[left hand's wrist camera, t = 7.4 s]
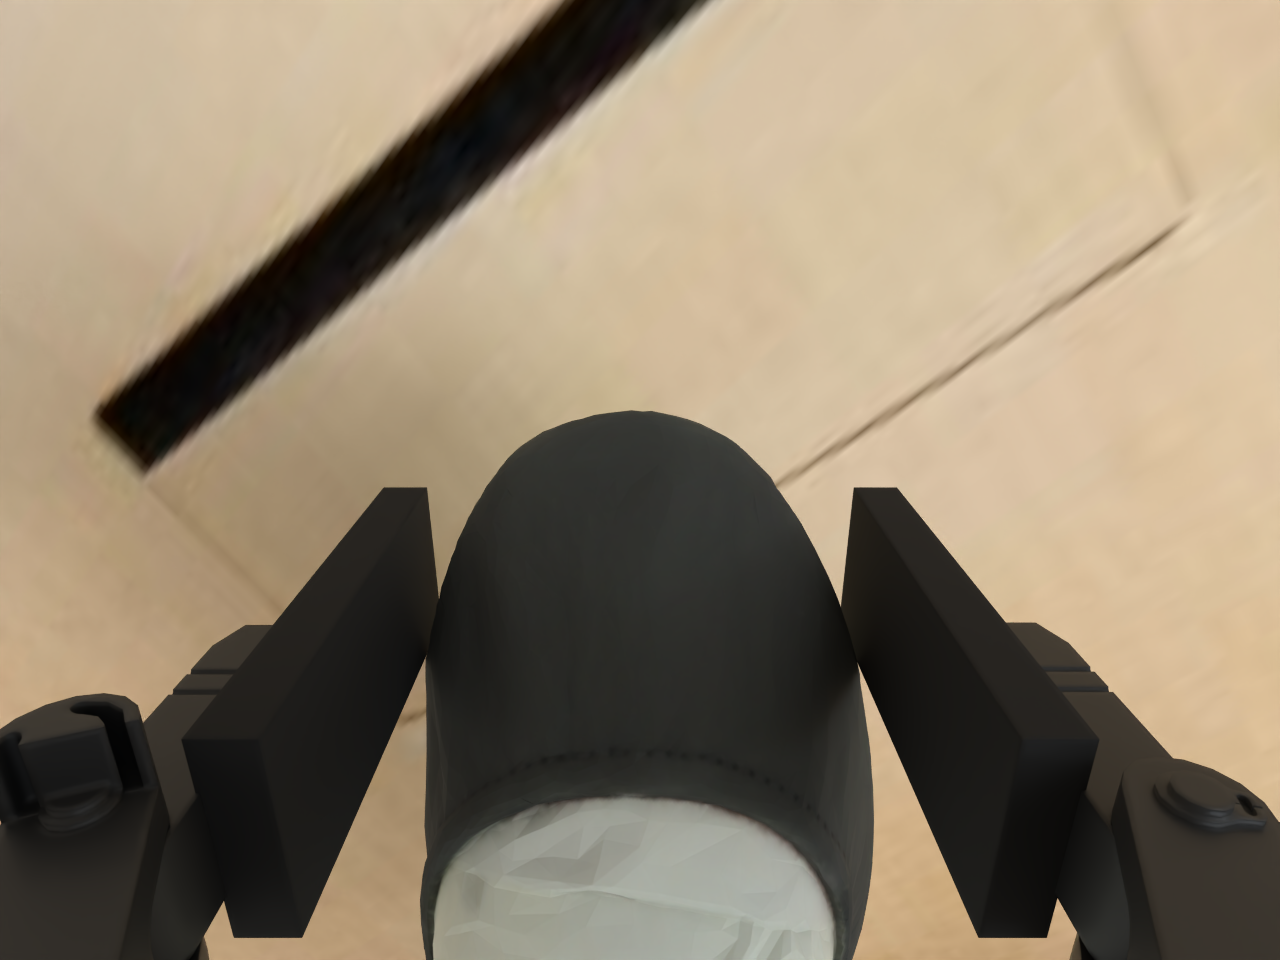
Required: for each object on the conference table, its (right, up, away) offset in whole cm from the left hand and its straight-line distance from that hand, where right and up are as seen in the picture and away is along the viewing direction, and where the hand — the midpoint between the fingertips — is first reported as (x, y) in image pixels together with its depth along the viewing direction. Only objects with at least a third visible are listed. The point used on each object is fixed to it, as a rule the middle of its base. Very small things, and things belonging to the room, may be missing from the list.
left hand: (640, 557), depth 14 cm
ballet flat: (0, -8, +4) cm, 9 cm away
